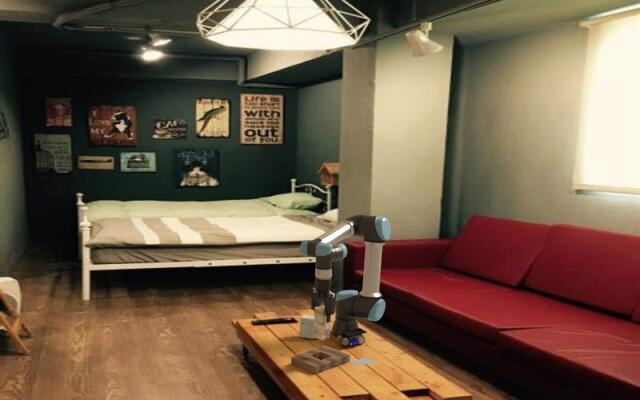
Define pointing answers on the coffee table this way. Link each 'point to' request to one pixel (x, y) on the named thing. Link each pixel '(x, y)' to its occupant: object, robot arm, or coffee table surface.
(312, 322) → the small box
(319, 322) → the beech block
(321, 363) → the pocket board
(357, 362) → the pad
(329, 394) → the coffee table surface
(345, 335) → the toy car
